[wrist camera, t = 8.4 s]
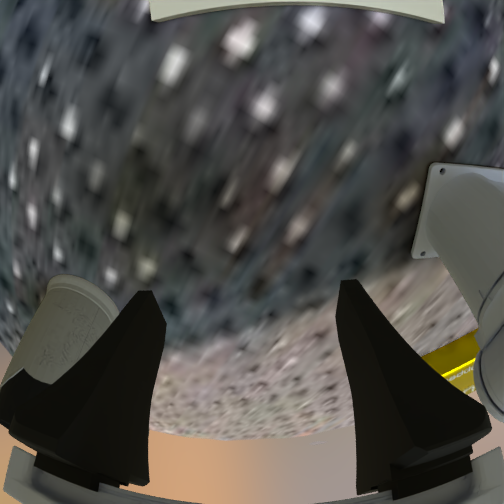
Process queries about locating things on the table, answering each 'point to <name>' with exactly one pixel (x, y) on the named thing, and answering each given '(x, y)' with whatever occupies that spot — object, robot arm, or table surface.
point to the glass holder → (55, 339)
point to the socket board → (399, 3)
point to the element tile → (456, 362)
